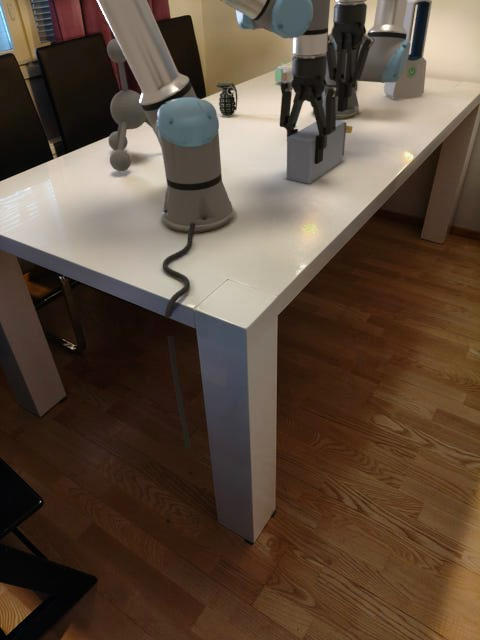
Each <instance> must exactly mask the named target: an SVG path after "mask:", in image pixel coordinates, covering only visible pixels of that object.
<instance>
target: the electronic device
mask: <svg viewBox="0 0 480 640" xmlns="http://www.w3.org/2000/svg"><path fill="white" fill-rule="evenodd" d="M432 4H433V0H407V6H406V12H405V17H404V23H403V28H404V30H405V31H406V33H407V36H406V39H408V40H409V41H410V43H411V46H410V52H409V57H408V60H407V63H406V66H405V69H404V71H403V74H402V75H401V77H400V79H399V80H398V81H396V82H385V83H384V85H383V92H384V94H385V96H386V97H389V98H391V99H393V100H403V99H411V98H419V97H421V96H422V95H423V94H424V92H425V82H426V71H427V60H426V59H425V58H424V53H425V47H426V40H427V35H428V28H429V22H430V16H431V10H432ZM416 6H417V7H416ZM415 12H416V13H415ZM413 26H414V27H413Z"/></svg>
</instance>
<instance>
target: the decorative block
mask: <svg viewBox="0 0 480 640" xmlns="http://www.w3.org/2000/svg"><path fill="white" fill-rule="evenodd" d="M292 78H293V74H292V61H290V62H287V63H286V62H284V61H283V62H280V65H278V66H277V68H275V69H274V82H277V83H278V82H279V83H284V82H287V81H289V82H291V80H292Z"/></svg>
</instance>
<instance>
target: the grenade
mask: <svg viewBox="0 0 480 640" xmlns="http://www.w3.org/2000/svg"><path fill="white" fill-rule="evenodd" d="M215 87H217V88H219V89H221V93H219V97H218V101H219V102H218V106H219V108H218V109H219V112H220V114H221V115H222V116H224V117H231V116H233V115H234V113H235V112H236V111H237V108H238V89H237V87H236V85H235V84H234V83H233V82H218V83H217V84H216V86H215ZM232 91H233V92H232ZM234 94H235V96H234Z"/></svg>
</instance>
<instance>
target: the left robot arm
mask: <svg viewBox="0 0 480 640" xmlns="http://www.w3.org/2000/svg"><path fill="white" fill-rule="evenodd" d="M96 2H97V3H98V5H99V8H100V10H101V11H102V14H103V15H104V18H105V20H106V22H107V24H108V26H109V28H110V30H111V32H112V34H113V36H114V39H115V38H116V40H117V42H118V44H119V46H120V48H121V50H122V52H123V54H124V56H125V58H126V62H127V64H128V66H129V69H130V70H131V72H132V74H133V76H134V79H135V80H136V82H137V85H138V86H139V88H140V90H141V94H140V95H141V97H140V101H139V102H140V104H141V106H142V108H143V110H144V112H145V114H146V116H147V118H148V120H149V122H150V124H151V126H152V127H151V129H152V130H153V133H154V134H155V135H156V138H157V140H158V143H159V146H160V148H161V153H162V159H163V168H164V173H165V180H166V190H165V191H166V192H165V196H164V203H163V207H162V218H163V222H164V224H165V226H167V227H168V228H169V229H171V230H173V231H177V232H180V233H188V234H187V242H186V245H185V246H184V247H183V248H182V249H181V250H179V251H177V252H175V253H173V254H170V255H169V256H167V257H166V258H164V260H163V261H162V269H163V271H164V272H165V273H167V274H169V275H171V276H173V277H175V278H177V279H179V280H181V281H182V282H183V283H184V285H183V287H182V288H180V289H179V290H177V291H176V292H175V293H174V294H173V295H172V296H171V297H170V298H169V300H168V303H167V304H166V308H165V314H164V317H165V319H169V318H171V316H172V312H173V311H172V310H173V307H174V305H175V303H176V302H177V301H178V299H180V298H181V297H182V296H184V295H185V294H186V293H187V292H188V291H189V290H190V287H191V283H190V280H189V278H188V277H187V276H186V275H184V274H182V273H181V272H178V271H177V270H174V269H172V268H170V267H169V263H170V262H172V261H173V260H176V259H177V258H179V257H182V256H184V255H185V254H186V253H188V252H189V251H190V250H191V248H192V245H193V237H194V234H195V233H196V234H197V233H205V232H206V233H207V232H210V231H215V230H216V229H220V228H222V227H224V226H226V225H227V224H228V223H230V221H231V220H232V218H233V216H234V212H233V211H234V210H233V205H232V201H231V200H230V197H229V195H228V192H227V190H226V187H225V184H224V182H223V175H222V174H223V173H222V161H221V147H220V146H221V145H220V133H219V131H220V130H219V129H220V122H219V118H218V114H217V109H216V108H215V106H214V105H213V104H212V103H211V102H210V101H208V100H207V99H206V100H205V99H201V98H199V97H198V96H197V94H196V92H195V90H194V87H193V85H192V82H191V81H190V78H189V77H188V76H187V75H184V74H182V73H180V72H179V70H178V68H177V66H176V64H175V62H174V59H173V57H172V55H171V52H170V50H169V48H168V46H167V43H166V41H165V39H164V37H163V35H162V32H161V30H160V27H159V24H158V23H157V21H156V19H155V16H154V13H153V11H152V9H151V6H150V5H149V2H148V0H96ZM220 2H223V3H224V4H226V5H228V7H231V8H232V9H234V10H235V14H236V21H237V24H238V26H239V27H240V28H241V30H253V31H256V30H259V29H263V30H266V31H268V32H270V33H273V34H276V35H277V36H279V37H280V38H283V39H292V51H291V52H292V54H293V55H294V56H293V57H292V58H291V59H292V60H291V62H292V74H293V78H292V80H291V82H289V81H287V82H281V84H280V86H279V87H280V91H281V101H280V102H281V103H280V115H279V116H280V117H279V127H280V128H283V129H285V130H286V138H287V137H289V136H291V135H292V134H294V133H296V132H298V131H299V129H298V128H297V123H298V119H299V116H300V114H301V110H302V107H303V104H304V102H309V103H310V106H311V107H312V111H313V110H314V114H315V115H314V114H313V115H314V118H315V122H316V123H317V127H318V131H319V135H317V136H316V147H315V164H318V163H320V162H321V161H323V150H324V149H325V148H326V147H327V136H328V135H330V134H331V133H333V132H335V130H336V120H337V119H336V103H335V97H336V94H337V91H338V88H337V87H336V86H334V87H331V86H329V85H327V83H326V80H325V75H326V65H327V57H326V55H324V54H325V53H326V52H327V45H328V35H329V22H330V21H329V20H330V7H331V0H220ZM292 91H293V92H294V97H293V104H292V95H293V93H292ZM323 91H325V96H326V117H325V113H324V108H323V104H322V103H323V99H322V93H323ZM316 100H317V101H316ZM291 105H292V107H291ZM174 339H175V338H174V335H169V336H167V342H168V353H169V359H170V367H171V373H172V374H171V375H172V380H173V386H174V392H175V397H176V403H177V408H178V412H179V419H180V423H181V427H182V435H183V439H184V445H185V449H187V450H189V449H191V448H192V447H191V439H190V434H189V430H188V424H187V419H186V413H185V408H184V401H183V397H182V391H181V384H180V379H179V372H178V364H177V357H176V348H175V340H174Z"/></svg>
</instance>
